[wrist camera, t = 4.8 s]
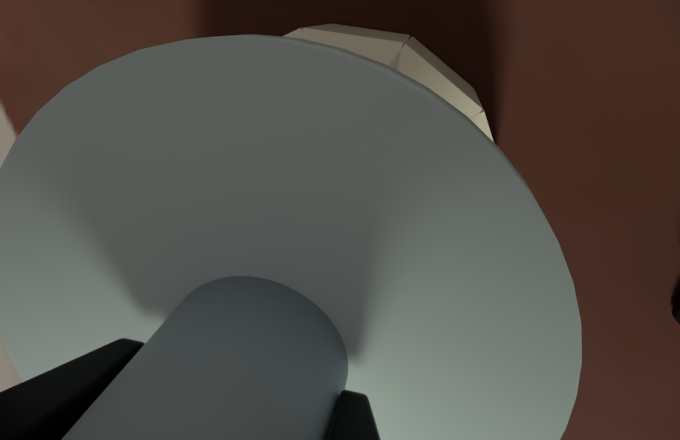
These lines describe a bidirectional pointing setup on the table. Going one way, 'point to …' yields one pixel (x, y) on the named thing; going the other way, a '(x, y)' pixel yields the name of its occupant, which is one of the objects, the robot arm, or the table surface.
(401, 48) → the bowl
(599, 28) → the table surface
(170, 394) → the lid
